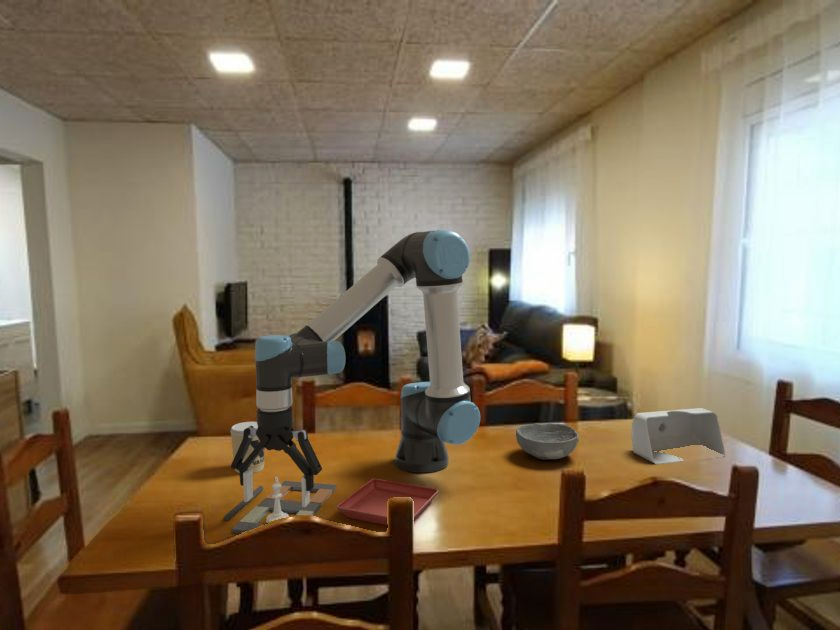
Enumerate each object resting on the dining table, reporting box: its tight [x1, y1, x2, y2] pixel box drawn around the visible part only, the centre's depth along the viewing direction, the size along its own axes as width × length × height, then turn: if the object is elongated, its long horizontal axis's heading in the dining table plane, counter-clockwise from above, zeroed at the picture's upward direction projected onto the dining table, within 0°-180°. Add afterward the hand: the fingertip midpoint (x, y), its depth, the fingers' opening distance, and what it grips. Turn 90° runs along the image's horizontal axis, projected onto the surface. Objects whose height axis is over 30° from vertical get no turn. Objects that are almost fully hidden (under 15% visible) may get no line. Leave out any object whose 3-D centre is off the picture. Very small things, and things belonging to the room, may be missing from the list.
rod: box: [223, 485, 264, 521], centre depth 128 cm, size 17×1×1 cm, turn 169°
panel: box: [231, 480, 337, 534], centre depth 126 cm, size 14×26×1 cm, turn 169°
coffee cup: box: [229, 421, 266, 474], centre depth 150 cm, size 9×9×12 cm
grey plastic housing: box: [630, 407, 726, 465], centre depth 164 cm, size 25×16×12 cm, turn 105°
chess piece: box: [265, 475, 290, 524], centre depth 120 cm, size 5×5×10 cm
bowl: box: [515, 422, 580, 461], centre depth 160 cm, size 18×18×8 cm
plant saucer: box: [336, 478, 439, 526], centre depth 126 cm, size 18×18×3 cm
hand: (277, 502), depth 120 cm, fingers open, 13 cm apart
